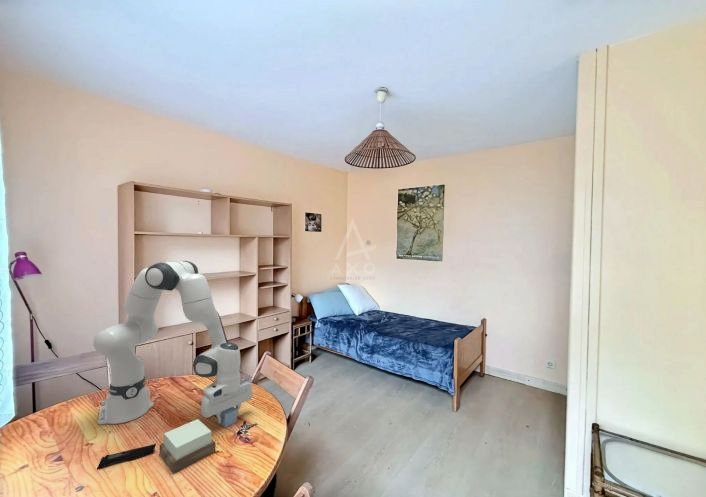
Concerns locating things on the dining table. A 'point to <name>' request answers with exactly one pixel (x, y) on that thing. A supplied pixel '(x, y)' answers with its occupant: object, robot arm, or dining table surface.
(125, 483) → the dining table surface
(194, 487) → the dining table surface
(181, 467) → the walnut slab
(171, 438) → the sage slab
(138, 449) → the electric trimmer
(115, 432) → the dining table surface
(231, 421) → the blue cube
